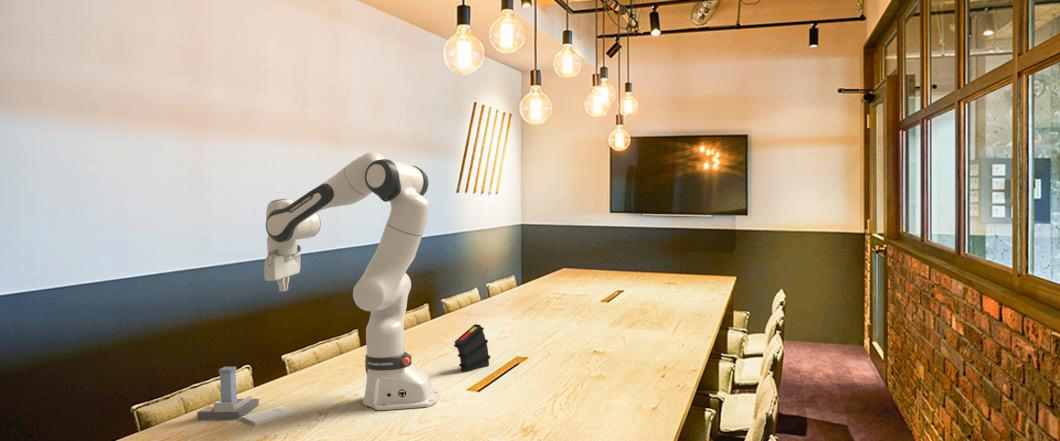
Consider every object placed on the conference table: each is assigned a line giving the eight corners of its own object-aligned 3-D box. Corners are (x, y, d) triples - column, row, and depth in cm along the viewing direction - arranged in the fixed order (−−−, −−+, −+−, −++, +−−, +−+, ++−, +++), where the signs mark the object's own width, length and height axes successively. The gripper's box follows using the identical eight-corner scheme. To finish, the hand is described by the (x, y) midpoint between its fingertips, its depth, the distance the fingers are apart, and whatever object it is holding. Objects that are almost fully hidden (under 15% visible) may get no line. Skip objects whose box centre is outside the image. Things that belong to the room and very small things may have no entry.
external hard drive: (240, 421, 187) (282, 410, 196) (255, 428, 181) (297, 415, 191) (240, 416, 186) (281, 404, 196) (254, 422, 181) (296, 409, 191)
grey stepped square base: (258, 405, 199) (258, 390, 199) (239, 418, 187) (238, 403, 187) (219, 405, 200) (218, 391, 200) (197, 419, 188) (196, 403, 188)
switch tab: (238, 405, 192) (236, 366, 192) (232, 408, 189) (230, 369, 188) (226, 405, 192) (224, 366, 192) (220, 409, 189) (218, 369, 189)
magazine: (496, 359, 240) (482, 324, 235) (471, 382, 231) (456, 347, 226) (489, 357, 242) (474, 323, 237) (464, 380, 234) (449, 345, 229)
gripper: (277, 251, 208) (279, 295, 208) (303, 246, 228) (305, 286, 229) (257, 251, 208) (259, 296, 209) (285, 246, 228) (286, 286, 229)
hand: (283, 291), depth 219 cm, fingers closed
